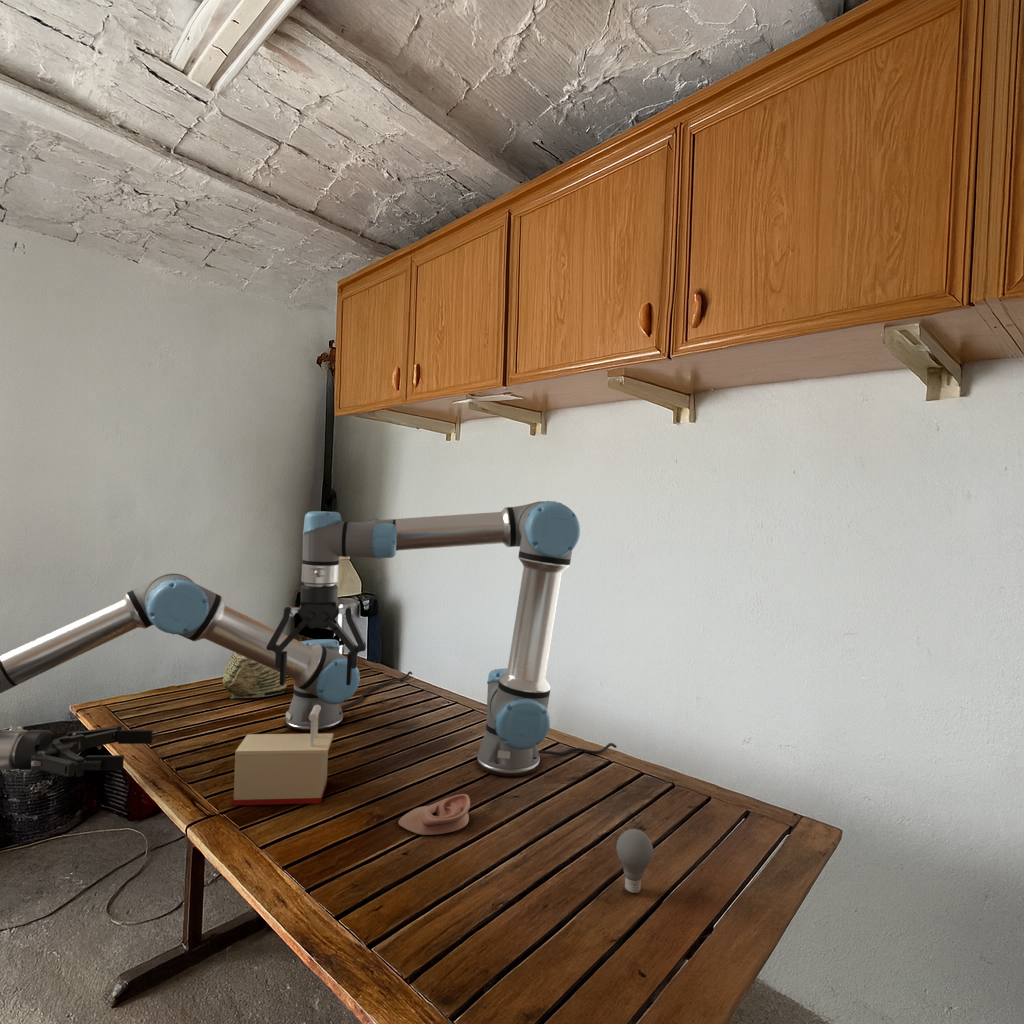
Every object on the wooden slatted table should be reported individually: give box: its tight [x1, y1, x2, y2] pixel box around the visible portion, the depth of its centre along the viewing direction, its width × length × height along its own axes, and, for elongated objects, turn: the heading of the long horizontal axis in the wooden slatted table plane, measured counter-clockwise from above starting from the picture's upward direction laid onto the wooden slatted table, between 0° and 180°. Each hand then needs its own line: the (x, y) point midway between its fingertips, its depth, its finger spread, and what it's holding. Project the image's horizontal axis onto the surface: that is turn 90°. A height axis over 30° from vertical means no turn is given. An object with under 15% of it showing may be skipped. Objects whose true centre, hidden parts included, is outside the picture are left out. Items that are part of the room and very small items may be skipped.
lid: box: [234, 705, 334, 755], centre depth 134 cm, size 18×9×8 cm, turn 99°
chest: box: [232, 752, 329, 806], centre depth 134 cm, size 17×9×10 cm, turn 99°
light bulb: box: [615, 828, 654, 894], centre depth 106 cm, size 6×6×10 cm
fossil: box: [222, 651, 288, 699], centre depth 198 cm, size 9×18×15 cm, turn 132°
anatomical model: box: [397, 793, 471, 836], centre depth 125 cm, size 13×4×12 cm
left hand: (138, 749), depth 130 cm, fingers open, 13 cm apart
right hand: (316, 683), depth 135 cm, fingers open, 13 cm apart
